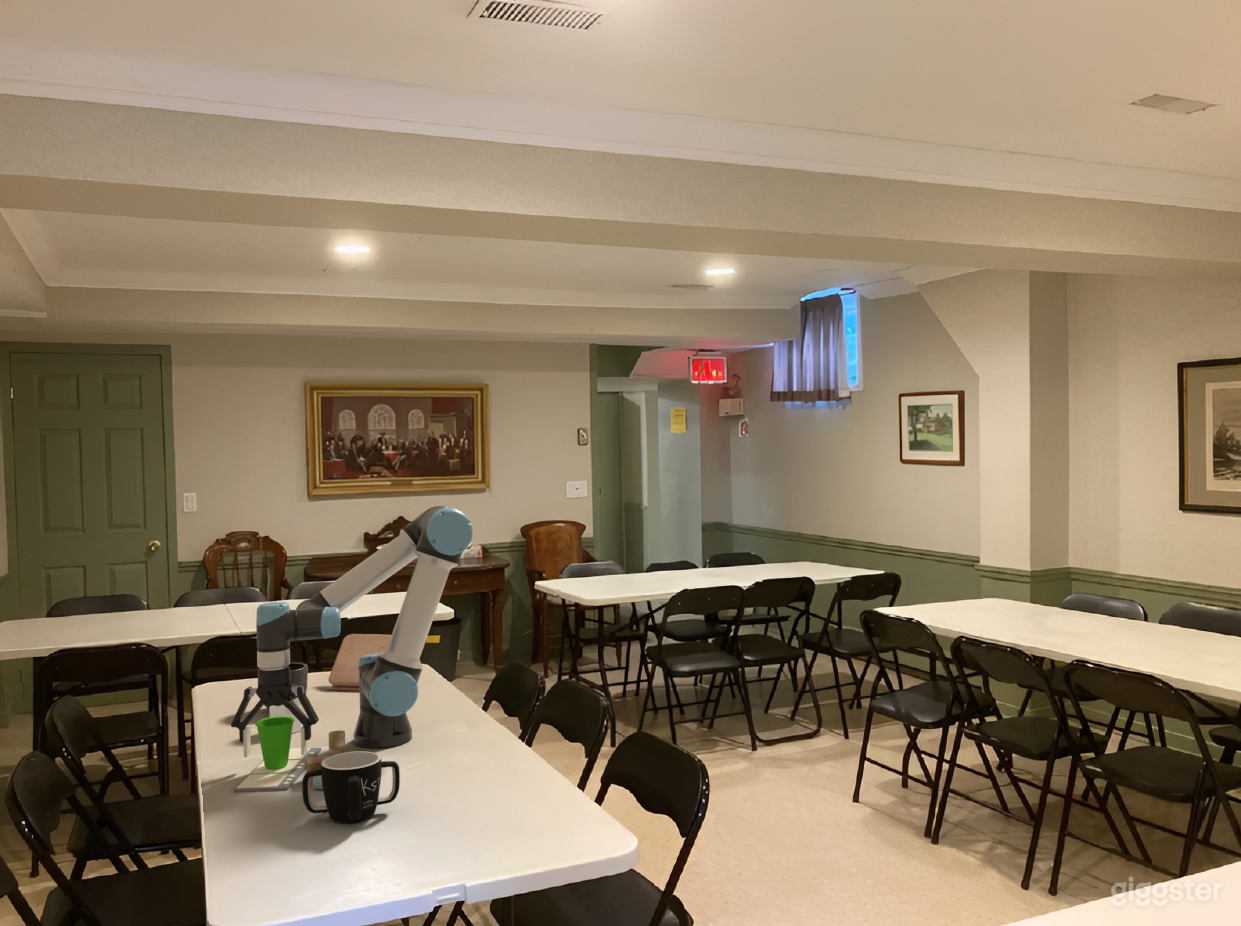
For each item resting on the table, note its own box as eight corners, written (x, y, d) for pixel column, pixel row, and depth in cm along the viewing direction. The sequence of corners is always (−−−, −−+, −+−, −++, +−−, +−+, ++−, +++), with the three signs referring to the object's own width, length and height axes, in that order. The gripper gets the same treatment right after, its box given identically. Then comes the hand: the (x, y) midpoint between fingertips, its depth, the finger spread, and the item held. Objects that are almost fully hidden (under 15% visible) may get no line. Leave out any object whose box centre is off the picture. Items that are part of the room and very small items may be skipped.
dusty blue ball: (331, 785, 221) (330, 770, 221) (327, 791, 218) (326, 775, 218) (315, 786, 221) (314, 770, 221) (311, 791, 218) (310, 775, 217)
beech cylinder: (347, 753, 245) (346, 730, 245) (343, 758, 241) (343, 734, 241) (331, 754, 245) (330, 730, 245) (327, 759, 241) (326, 735, 241)
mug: (349, 837, 191) (348, 776, 191) (295, 822, 199) (294, 764, 199) (408, 810, 205) (407, 754, 205) (355, 797, 213) (354, 743, 213)
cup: (259, 774, 228) (257, 728, 227) (254, 764, 236) (253, 719, 235) (298, 768, 232) (297, 722, 231) (292, 757, 240) (291, 713, 240)
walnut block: (328, 775, 229) (328, 754, 229) (331, 782, 224) (331, 760, 224) (306, 779, 227) (306, 757, 227) (308, 785, 222) (308, 763, 222)
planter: (318, 707, 292) (317, 664, 292) (280, 718, 280) (279, 674, 280) (288, 701, 299) (287, 660, 299) (249, 712, 288) (248, 669, 287)
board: (321, 749, 249) (321, 746, 249) (287, 789, 219) (287, 786, 219) (273, 751, 248) (273, 748, 248) (233, 791, 218) (233, 788, 218)
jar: (268, 728, 270) (268, 685, 270) (299, 725, 273) (298, 682, 273) (270, 737, 261) (269, 693, 261) (302, 733, 265) (301, 689, 264)
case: (325, 691, 313) (325, 642, 313) (353, 676, 334) (353, 630, 334) (385, 693, 310) (384, 643, 309) (410, 678, 330) (409, 631, 330)
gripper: (329, 661, 238) (331, 747, 238) (226, 665, 236) (228, 751, 237) (322, 668, 230) (324, 757, 231) (215, 671, 229) (217, 760, 229)
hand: (275, 754), depth 234 cm, fingers open, 13 cm apart
